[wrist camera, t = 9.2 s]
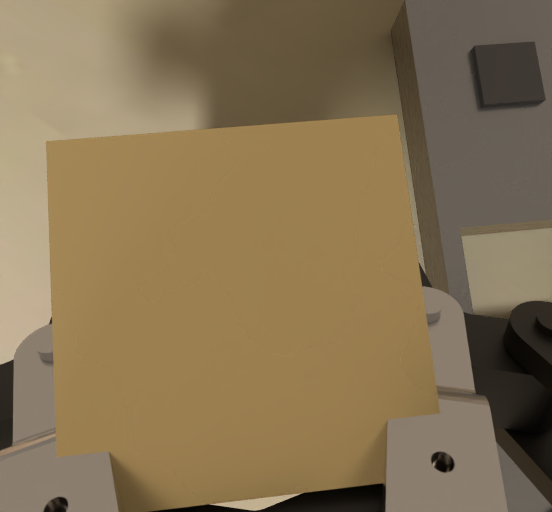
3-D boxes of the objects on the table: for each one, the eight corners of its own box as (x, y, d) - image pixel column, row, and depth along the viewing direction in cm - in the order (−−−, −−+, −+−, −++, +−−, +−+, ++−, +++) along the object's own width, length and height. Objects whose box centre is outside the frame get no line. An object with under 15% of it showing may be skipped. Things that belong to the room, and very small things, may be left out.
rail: (390, 30, 21) (407, -6, 19) (546, 20, 22) (580, -16, 19) (479, 636, 18) (512, 681, 15) (661, 610, 18) (719, 650, 16)
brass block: (179, 262, 17) (45, 142, 6) (307, 250, 17) (396, 114, 6) (189, 394, 16) (59, 522, 5) (321, 380, 17) (449, 475, 6)
